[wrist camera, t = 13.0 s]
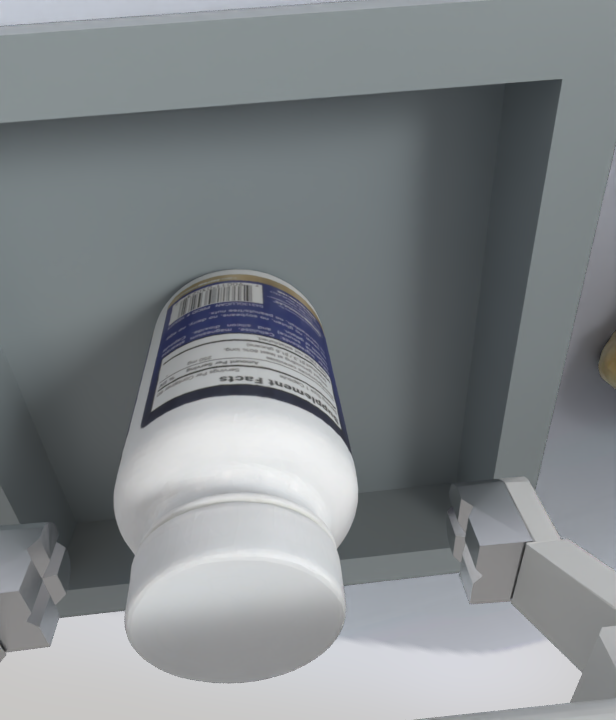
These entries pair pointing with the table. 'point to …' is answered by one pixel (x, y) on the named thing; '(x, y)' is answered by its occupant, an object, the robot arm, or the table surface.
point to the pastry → (609, 362)
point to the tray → (301, 239)
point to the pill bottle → (236, 485)
